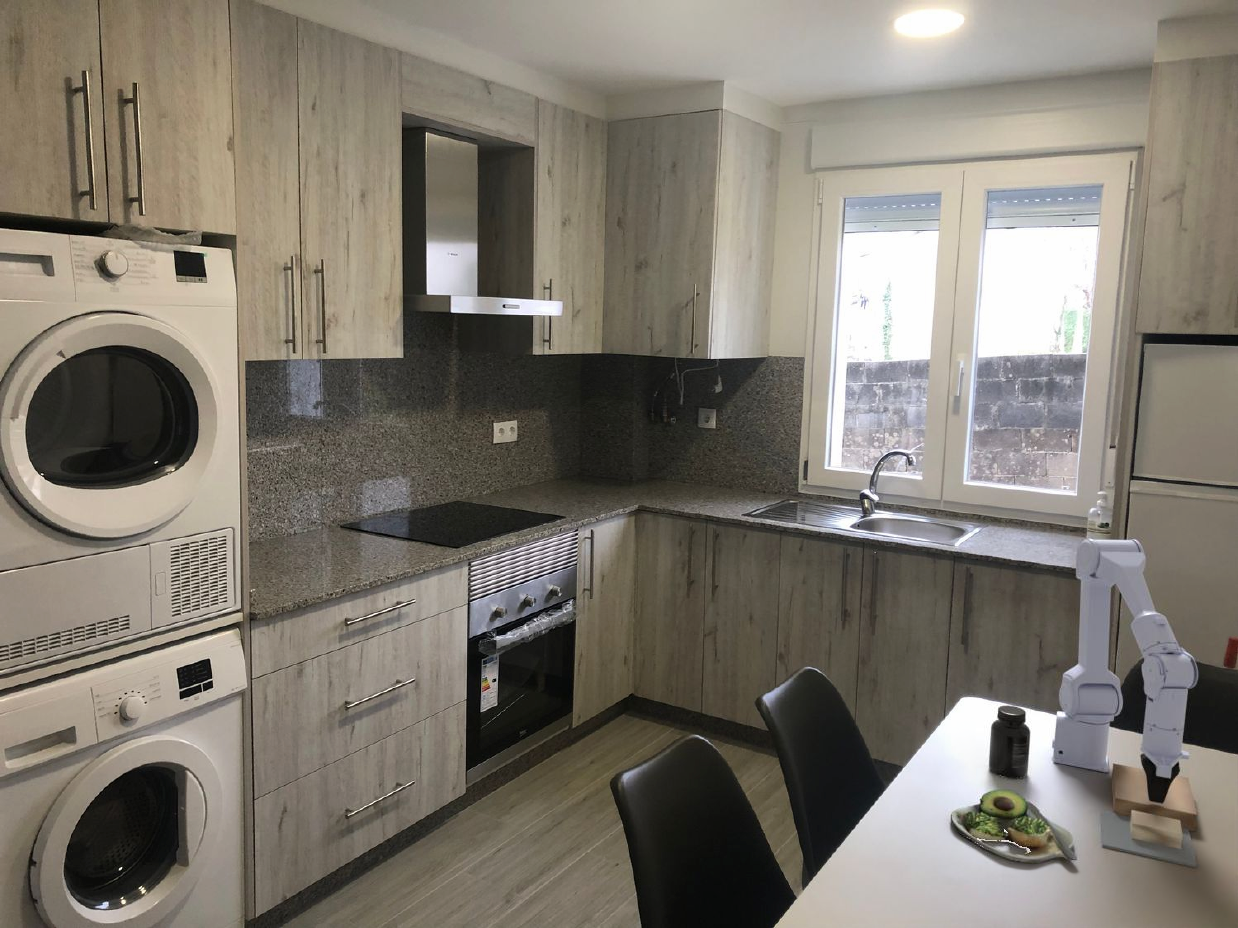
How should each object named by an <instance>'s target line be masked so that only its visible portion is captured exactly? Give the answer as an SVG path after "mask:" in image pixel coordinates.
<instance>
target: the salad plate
mask: <svg viewBox="0 0 1238 928" xmlns="http://www.w3.org/2000/svg"><path fill="white" fill-rule="evenodd" d="M979 801H980V802H979V803H977V804H974V805H969V806H965V807H961V808H957V809H955V810H953V811H952V812H951V814H950V822H951V825H952V827H953V826H954V827H955V828H956V829H955V828H954V827H953V828H954V829H955V830H956V831H957V832H958V833H959V832H960V833H961V834H962V835H963V836H962V835H961V834H960V833H959V834H960V835H961V836H962V837H964V836H965V837H968V838H970V839H971V840H973V841H974V842H976V843H978V844H979V845H981V846H983V847H984V848H986V849H988V850H990V851H992V852H991V853H993V852H994V853H993V854H995V853H996V854H995V855H997V854H998V856H999V855H1000V856H999V857H1001V856H1002V857H1001V858H1003V857H1005V858H1004V859H1006V858H1008V859H1007V860H1009V859H1011V860H1010V861H1012V860H1015V861H1014V862H1017V861H1020V862H1019V863H1023V862H1028V863H1027V864H1038V863H1037V862H1040V863H1043V862H1042V861H1044V862H1047V861H1050V860H1053V858H1054V859H1058V858H1065V859H1067V860H1068V861H1077V860H1078V857H1077V855H1076V854H1075V853H1074V851H1073V850H1072V848H1073V847H1074V846H1075V842H1074V841H1075V840H1074V836H1073V833H1072V832H1071V831H1070V830H1069V829H1066V828H1065V827H1063V826H1062V825H1060V824H1058V823H1056V822H1054V821H1053V820H1050V819H1048V818H1047V817H1045V816H1044V815H1043V814H1042V813H1041V812H1040V811H1041V810H1039V808H1038V807H1037V806H1036V805H1035V804H1033V803H1032V802H1030V801H1027V800H1026V799H1025V797H1023V796H1022V794H1019V793H1018V792H1015V791H1012V790H1010V789H994V790H990V791H987V792H986V793H984V794H982V795H981V798H979ZM1004 829H1005V830H1006V831H1007V832H1008V833H1006V832H1004ZM965 837H964V838H965ZM977 838H979V839H985V840H997V841H999V840H1000V841H1001V840H1009V841H1011V842H1015V843H1016V844H1018V845H1019V846H1022V847H1027V848H1029V849H1030V851H1031V852H1029V853H1027V854H1024V853H1023V854H1024V855H1022V854H1020V853H1019V854H1017V853H1015V852H1014V853H1013V852H1010V851H1006V850H1001V849H998V848H995V847H993V846H990V845H989V844H987V843H985V844H984V842H983V841H982V842H983V843H982V842H981V841H979V840H977ZM974 842H973V843H974ZM976 843H975V844H976ZM979 845H978V846H979ZM981 846H980V847H981ZM984 848H983V849H984ZM986 849H985V850H986ZM988 850H987V851H988ZM990 851H989V852H990ZM1049 859H1050V860H1049ZM1046 860H1047V861H1046ZM1029 862H1030V863H1029Z"/></svg>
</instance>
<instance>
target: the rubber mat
mask: <svg viewBox="0 0 1238 928" xmlns="http://www.w3.org/2000/svg"><path fill="white" fill-rule="evenodd" d="M1130 821H1131V817H1130V816H1125V815H1121V814H1116V813H1114V812H1111V811H1105V810H1100V825H1101V829H1100V830H1101V847H1102V846H1103V848H1107V849H1111V850H1116V851H1121V852H1124V853H1129V854H1132V855H1133V854H1134V855H1137V856H1140V857H1141V856H1142V857H1147V858H1151V859H1154V860H1155V859H1156V860H1159V861H1165V862H1168V863H1173V864H1179V865H1182V866H1187V867H1192V868H1197V861H1196V856H1195V853H1194V847H1193V842H1192V839H1191V834H1190V831H1189V829H1187V828H1182V827H1181V829H1182V843H1181V849H1179V848H1174V847H1170V846H1165V845H1161V844H1156V843H1152V842H1147V841H1143V840H1139V839H1134V838H1131V829H1130Z"/></svg>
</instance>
